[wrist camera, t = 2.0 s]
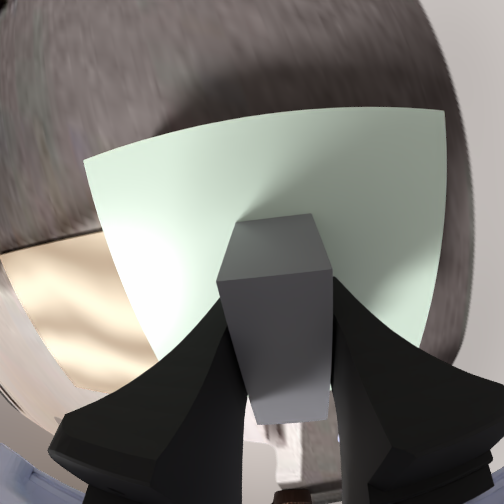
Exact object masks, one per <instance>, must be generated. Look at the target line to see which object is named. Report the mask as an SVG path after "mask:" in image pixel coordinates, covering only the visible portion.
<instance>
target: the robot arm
mask: <svg viewBox="0 0 504 504" xmlns="http://www.w3.org/2000/svg"><path fill="white" fill-rule="evenodd" d="M330 384H331V388H332V393H333V397H334V401H335V407H336V412H337V421H338V431H339V435H338V442H340V455H341V472H342V504H504V467H502V468H501V469H499V470H497V471H496V472H494V473H492V474H491V472H490V468H489V465H488V464H489V463H491V462H492V461H493V457H492V454H491V451H490V449H491V448H492V447H493V446H494V445H495V444H496V443H497V442H499V441H500V439H502V438H503V437H504V385H503V384H500V383H497V382H494V381H490V380H487V379H484V378H481V377H479V376H475V375H473V374H470V373H467V372H465V371H463V370H461V369H458V368H456V367H454V366H451V365H449V364H447V363H445V362H443V361H441V360H439V359H437V358H435V357H434V356H432V355H430V354H428V353H427V352H425V351H423V350H421V349H419V348H418V347H416V346H415V345H413V344H411V343H410V342H408V341H407V340H406V339H404V338H403V337H401V336H400V335H398V334H397V333H395V332H394V331H393V330H391V329H390V328H389V327H388V326H386V325H385V324H384V323H383V322H382V321H380V320H379V319H378V318H377V317H376V316H375V315H373V314H372V313H371V312H370V311H369V310H368V309H367V308H366V307H365V306H364V305H363V304H362V303H360V302H359V301H358V300H357V299H356V298H355V297H354V296H353V295H352V293H351V292H350V291H349V290H348V289H347V288H346V287H345V286H344V285H343V284H342V283H341V282H340V281H339V280H338V279H337V278H336V277H335V276H333V334H332V361H331V379H330ZM247 396H248V393H247V390H246V387H245V384H244V380H243V377H242V374H241V370H240V367H239V364H238V360H237V357H236V353H235V350H234V346H233V343H232V339H231V336H230V332H229V329H228V325H227V321H226V318H225V314H224V310H223V307H222V303H221V299H220V298H219V299H218V300H217V301H216V303H215V304H214V305H213V306H212V307H211V309H210V310H209V311H208V312H207V314H206V315H205V316H204V317H203V318H202V319H201V321H200V322H199V323H198V324H197V325H196V326H195V327H194V328H193V330H192V331H191V332H190V333H189V334H188V335H187V336H186V337H185V338H184V339H183V340H182V341H181V342H180V343H179V344H178V345H177V346H176V347H175V348H174V349H173V350H172V351H170V352H169V353H168V354H167V355H166V356H165V357H163V358H162V359H161V360H160V361H159V362H157V363H156V364H155V365H154V366H152V367H151V368H149V369H148V370H147V371H145V372H144V373H142V374H141V375H140V376H138V377H137V378H135V379H134V380H133V381H131V382H130V383H128V384H126V385H125V386H123V387H121V388H120V389H118V390H116V391H115V392H113V393H111V394H109V395H107V396H105V397H104V398H102V399H100V400H98V401H96V402H93V403H91V404H89V405H86V406H84V407H82V408H80V409H77V410H75V411H72V412H70V413H67V414H65V416H64V418H63V420H62V422H61V423H60V425H59V427H58V429H57V431H56V433H55V436H54V438H53V440H52V442H51V444H50V446H49V448H48V453H49V455H50V457H51V458H52V459H53V460H54V461H55V462H57V463H58V464H59V465H60V466H62V467H63V468H65V469H66V470H67V471H69V472H71V473H72V474H73V475H75V476H76V477H78V478H79V479H81V480H82V481H84V482H86V483H87V484H89V485H88V488H87V491H86V494H85V493H83V492H81V491H79V490H77V489H74V488H72V487H70V486H68V485H66V484H64V483H62V482H60V481H59V480H56V479H55V478H53V477H51V476H49V475H47V474H46V473H44V472H42V471H40V470H39V469H37V468H35V467H34V466H33V465H32V464H31V463H30V462H28V461H27V460H26V459H24V458H23V457H22V456H20V455H19V454H18V453H16V452H15V451H13V450H12V449H10V448H9V447H7V446H6V445H5V444H3V443H0V504H242V455H243V433H244V417H245V408H246V402H247Z"/></svg>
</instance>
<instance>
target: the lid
mask: <svg viewBox="0 0 504 504" xmlns="http://www.w3.org/2000/svg"><path fill="white" fill-rule="evenodd" d="M83 162H84V166H85V170H86V174H87V178H88V182H89V186H90V189H91V193H92V196H93V200H94V203H95V207H96V210H97V213H98V217H99V220H100V223H101V226H102V229H103V232H104V235H105V238H106V241H107V244H108V247H109V250H110V252H111V255H112V258H113V260H114V263H115V266H116V268H117V271H118V274H119V276H120V279H121V281H122V284H123V286H124V288H125V291H126V293H127V296H128V298H129V300H130V303H131V305H132V307H133V309H134V312H135V314H136V316H137V318H138V320H139V322H140V325H141V327H142V329H143V331H144V333H145V335H146V337H147V339H148V341H149V343H150V345H151V347H152V349H153V351H154V353H155V355H156V357H157V359H158V361H160V360H161V359H162V358H163V357H165V356H166V355H167V354H168V353H169V352H170V351H172V350H173V349H174V348H175V347H176V346H177V345H178V344H179V343H180V342H181V341H182V340H183V339H184V338H185V337H186V336H187V335H188V334H189V333H190V332H191V331H192V330H193V328H194V327H195V326H196V325H197V324H198V323H199V322H200V321H201V319H202V318H203V317H204V316H205V315H206V314H207V312H208V311H209V310H210V309H211V307H212V306H213V305H214V304H215V303H216V301H217V300H218V299H219V298H220V299H221V303H222V307H223V310H224V314H225V318H226V321H227V325H228V329H229V332H230V336H231V339H232V343H233V346H234V350H235V353H236V357H237V360H238V364H239V367H240V370H241V374H242V377H243V380H244V384H245V387H246V390H247V393H248V396H247V397H249V400H250V403H251V406H252V409H253V412H254V415H255V419H256V422H257V425H265V424H285V423H298V422H309V421H318V420H326V419H327V417H328V406H329V393H330V390H332V388H331V384H330V379H331V361H332V334H333V276H335V277H336V278H337V279H338V280H339V281H340V282H341V283H342V284H343V285H344V286H345V287H346V288H347V289H348V290H349V291H350V292H351V293H352V295H353V296H354V297H355V298H356V299H357V300H358V301H359V302H360V303H362V304H363V305H364V306H365V307H366V308H367V309H368V310H369V311H370V312H371V313H372V314H373V315H375V316H376V317H377V318H378V319H379V320H380V321H382V322H383V323H384V324H385V325H386V326H388V327H389V328H390V329H391V330H393V331H394V332H395V333H397V334H398V335H400V336H401V337H403V338H404V339H406V340H407V341H408V342H410V343H411V344H413V345H415V346H416V347H418V348H419V345H420V342H421V339H422V335H423V332H424V328H425V324H426V321H427V317H428V313H429V309H430V304H431V300H432V296H433V291H434V286H435V281H436V276H437V270H438V264H439V258H440V251H441V244H442V236H443V227H444V217H445V203H446V182H447V148H446V127H445V114H444V111H442V110H432V109H419V108H400V107H342V108H323V109H309V110H298V111H288V112H279V113H271V114H263V115H256V116H249V117H243V118H237V119H231V120H226V121H220V122H215V123H210V124H205V125H201V126H196V127H192V128H187V129H183V130H179V131H175V132H171V133H167V134H163V135H160V136H156V137H152V138H149V139H145V140H142V141H138V142H135V143H132V144H129V145H126V146H122V147H119V148H116V149H113V150H110V151H107V152H105V153H102V154H99V155H96V156H93V157H91V158H88V159H85V160H83Z"/></svg>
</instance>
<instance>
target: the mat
mask: <svg viewBox="0 0 504 504" xmlns="http://www.w3.org/2000/svg"><path fill="white" fill-rule="evenodd" d="M0 259H1V262H2V264H3V266H4V269H5V271H6V273H7V276H8V278H9V280H10V282H11V284H12V286H13V288H14V290H15V292H16V294H17V296H18V298H19V300H20V302H21V304H22V306H23V308H24V310H25V312H26V313H27V315H28V317H29V319H30V320H31V322H32V324H33V326H34V327H35V329H36V331H37V332H38V334H39V336H40V337H41V339H42V340H43V342H44V343H45V345H46V347H47V348H48V350H49V351H50V353H51V354H52V356H53V357H54V358H55V360H56V361H57V363H58V364H59V366H60V367H61V368H62V370H63V371H64V372H65V374H66V375H67V376H68V378H69V379H70V380H71V382H72V383H73V384H74V385H75V387H78V388H83V389H88V390H93V391H98V392H103V393H109V394H111V393H113V392H115V391H116V390H118V389H120V388H121V387H123V386H125V385H126V384H128V383H130V382H131V381H133V380H134V379H135V378H137V377H138V376H140V375H141V374H142V373H144V372H145V371H147V370H148V369H149V368H151V367H152V366H154V365H155V364H156V363H157V362H159V361H158V359H157V357H156V355H155V353H154V351H153V349H152V347H151V345H150V343H149V341H148V339H147V337H146V335H145V333H144V331H143V329H142V327H141V325H140V322H139V320H138V318H137V316H136V314H135V312H134V309H133V307H132V305H131V303H130V300H129V298H128V296H127V293H126V291H125V288H124V286H123V284H122V281H121V279H120V276H119V274H118V271H117V268H116V266H115V263H114V260H113V258H112V255H111V252H110V250H109V247H108V244H107V241H106V238H105V235H104V232H103V231H99V232H94V233H89V234H84V235H79V236H75V237H70V238H65V239H61V240H57V241H52V242H48V243H44V244H39V245H35V246H31V247H27V248H23V249H19V250H15V251H11V252H7V253H3V254H1V255H0Z"/></svg>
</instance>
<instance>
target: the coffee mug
mask: <svg viewBox="0 0 504 504" xmlns="http://www.w3.org/2000/svg"><path fill="white" fill-rule="evenodd" d="M272 504H312V501H311V495H310V491H309V490H305V489H288V490H281V491H277V492H275V494H274V500H273V503H272Z"/></svg>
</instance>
